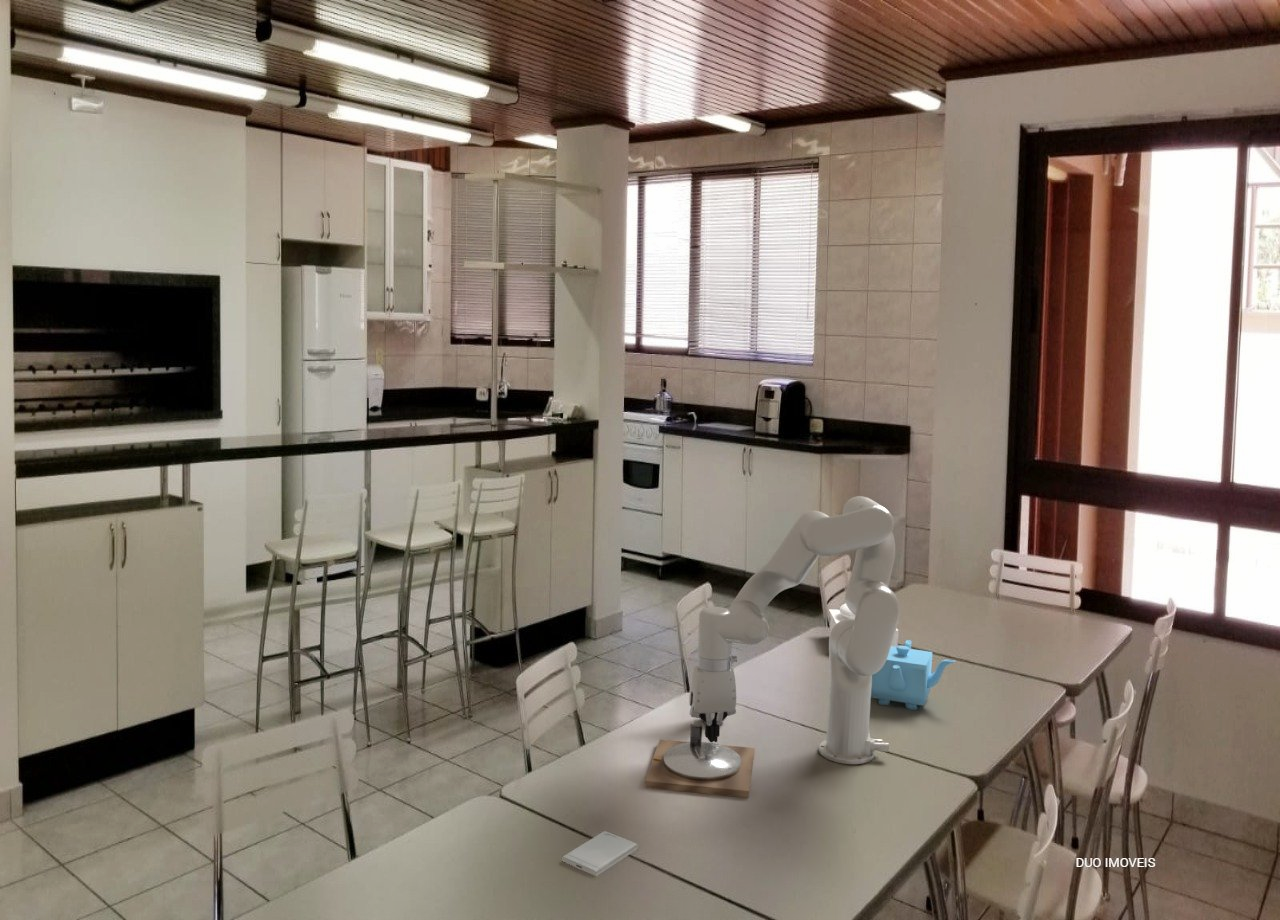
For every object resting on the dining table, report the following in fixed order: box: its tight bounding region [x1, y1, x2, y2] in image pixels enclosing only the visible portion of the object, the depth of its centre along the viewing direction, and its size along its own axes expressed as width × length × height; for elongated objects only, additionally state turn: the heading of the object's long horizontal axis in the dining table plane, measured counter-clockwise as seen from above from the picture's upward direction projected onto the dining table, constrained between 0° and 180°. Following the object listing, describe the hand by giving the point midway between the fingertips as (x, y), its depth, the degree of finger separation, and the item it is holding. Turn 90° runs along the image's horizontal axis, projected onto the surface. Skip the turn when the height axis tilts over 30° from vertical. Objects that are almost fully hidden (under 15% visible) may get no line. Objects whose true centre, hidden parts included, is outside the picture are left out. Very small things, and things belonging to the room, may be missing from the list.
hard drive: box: [561, 830, 639, 877], centre depth 195 cm, size 2×8×12 cm
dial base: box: [644, 739, 755, 799], centre depth 231 cm, size 22×22×2 cm
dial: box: [664, 723, 741, 780], centre depth 231 cm, size 17×17×6 cm
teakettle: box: [871, 639, 957, 711], centre depth 275 cm, size 19×19×15 cm
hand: (712, 739), depth 238 cm, fingers closed
